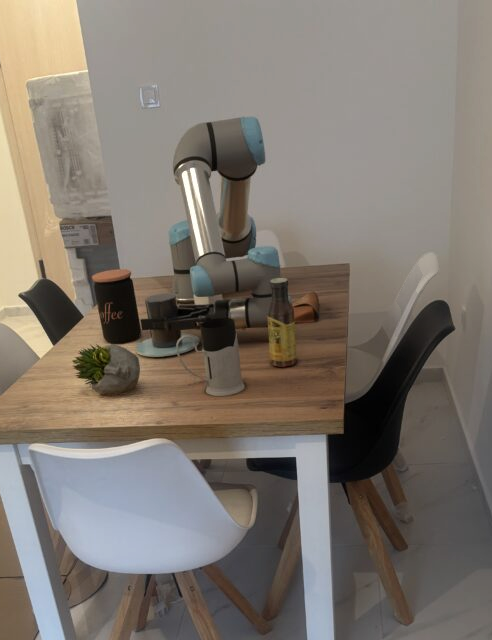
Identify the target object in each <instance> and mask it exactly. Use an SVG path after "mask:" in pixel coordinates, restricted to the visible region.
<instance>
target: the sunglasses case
mask: <svg viewBox="0 0 492 640" xmlns="http://www.w3.org/2000/svg"><path fill="white" fill-rule="evenodd" d="M319 304H320V299H319V296H318V294H317V293H316V292H315V291H310V292H308V293H306V294H305V295H303V296H302V297H301V298H299V299H298V300H296V301H294V302H293V303H292V306H293V309H294V320H295V324H306V323H315V322H316V321H317V320H318V319H319Z"/></svg>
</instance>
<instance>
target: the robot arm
mask: <svg viewBox="0 0 492 640" xmlns="http://www.w3.org/2000/svg"><path fill="white" fill-rule="evenodd" d="M265 163H266V150H265V143H264V137H263V133H262V127H261V124H260V121H259V118H257V117H256V116H241V117H235V118H228V119H222V120H221V119H220V120H215V121H209V122H200V123H197V124H195V125H193V126H191V127H190V128H189V129H187V130H186V131H185V132H184V133H183V135H182V136H181V137H180V139H179V141H178V143H177V144H176V148H175V150H174V154H173V159H172V171H173V178H174V181H175V183H176V184H177V185H178V186H179V187H180V192H181V197H182V201H183V202H182V203H183V205H184V206H183V207H184V211H185V217H186V219H185V220H182V221H179V222H177V223H175V224H173V225H171V226H170V228H169V229H168V241H169V242H168V245H169V246H170V254H171V255H170V256H171V261H172V269H173V279H172V287H171V292H170V293H171V294H175V295H176V300H177V304H178V303H179V305H177V307H178V314H179V317H175V318H169V319H167V317H166V316H165V317H164V318H151V319H148V318H141V319H139V321H140V327H141V331H150V330H156V329H166V330H167V332H170V331H179V330H181V331H189V330H197V329H198V330H201V328H200V324H201V323H203V322H205V321H207V320H211V319H216V318H230V319H233V320H234V321H235V330H240V329H241V330H242V331H246V329H257V328H258V329H259V328H262V329H263V328H268V312H269V308H270V304H271V301H272V293H271V287H270V281H271V280H272V279H275V278H282V277H281V264H280V263H281V261H280V256H279V250H278V249H277V248H276V247H275V246H272V245H262V246H256V245H257V228H256V223H255V220H254V217H252V216H251V215H249V213H248V212H249V202H250V201H249V200H250V189H251V180H252V179H251V178H252V177H253V176H254V175H255V174H256V172H257V169H258V166H262V165H264V164H265ZM212 172H217V173H218V175H219V195H218V212H217V211H216V206H215V202H214V197H213V193H212V188H211V187H212V186H211V183H210V182H211V181H210V179H211V177H212ZM245 256H247V257H246V258H243V257H245ZM235 258H241V259H235ZM228 259H234V260H228ZM246 291H251V296H252V297H240V298H238V297H237V298H232V299H228V298H227V299H223V300H216V301H215V303H214V304H206V305H195V302H194V295H195V296H196V297H210V296H211V297H212V296H215V295H221V294H222V295H226V294H231V293H240V292H246ZM193 293H194V294H193ZM288 300H289V302H290V303H291V305H292V304H293V303H292V297H291V296H290V295H288ZM192 303H194V304H192Z"/></svg>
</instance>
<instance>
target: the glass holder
mask: <svg viewBox="0 0 492 640" xmlns="http://www.w3.org/2000/svg"><path fill="white" fill-rule="evenodd" d="M200 328H201V329H200V335H201V342H202V350H198V346H197V345H196V342H195V340H194V339H193V338H192V337H190V336H183V337H181V338H180V339H179V340H178V341H177V344H176V350H177V354H176V355H177V358H178V360H179V362H180V363H181V365H182V367H183V368H184V369H185V370H186V371H187V372H189V373H190V374H191V375H194V376H196V377H198V378H199V379H201V380H203V381H204V382H205V386H206V389H205V393H206V394H208V395H210V396H214V397H226V396H227V397H228V396H231V395H235V394H238V393H240V392H242V391H243V390H245V388H246V387H245V384H244V382H243V378H242V368H241V360H240V350H239V342H238V333H237V329H235V321H234V320H233V319H230V318H216V319H211V320H207V321H205V322H203V323H201V324H200ZM183 338H190V339H192V341H193V342H194V346H195V348H194V351H195V352H196V353H197V354H202V356H203V364H204V372H205V378H204V377H203V376H201V375H199V374H197V373H195V372H194V371H192V370H191V369H189V368H188V367H187V366H186V365H185V363H184V361H183V360H182V357H181V355H180V354H181V353H180V354H179V350H178V345H179V342H180V341H181V340H182V339H183Z"/></svg>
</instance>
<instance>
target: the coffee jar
mask: <svg viewBox="0 0 492 640" xmlns="http://www.w3.org/2000/svg"><path fill="white" fill-rule="evenodd" d="M131 276H132V270H130V269H127V268H126V269H125V268H116V269H109V270H104V271H101V272H97V273H95V274H93V275H92V276H91V279H92V281H93V282H94V285H93V291H94V296H95V301H96V306H97V311H98V315H99V316H98V317H99V320H100V321H99V322H100V326H101V332H102V336H103V339H104V341H106V342H107V344H110V345H121V344H127V343H131V342H134V341H136V340H138V339H139V338H140V336H141V335H142V326H141V321H140V317H139V310H138V303H137V299H136V293H135V286H134V282H133V279H132V278H131Z"/></svg>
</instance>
